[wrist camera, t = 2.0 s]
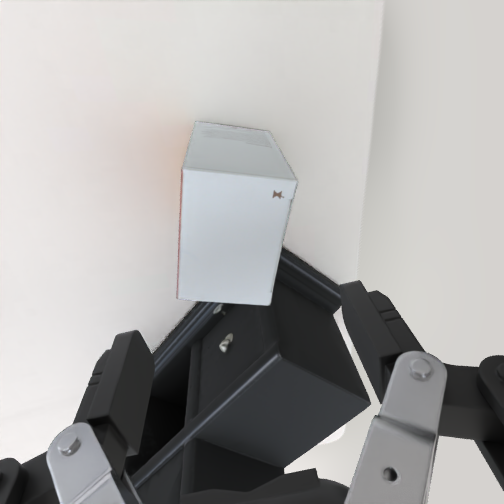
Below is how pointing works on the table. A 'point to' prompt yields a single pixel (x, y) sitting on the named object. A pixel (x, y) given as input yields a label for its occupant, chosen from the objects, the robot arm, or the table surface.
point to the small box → (232, 214)
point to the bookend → (246, 390)
